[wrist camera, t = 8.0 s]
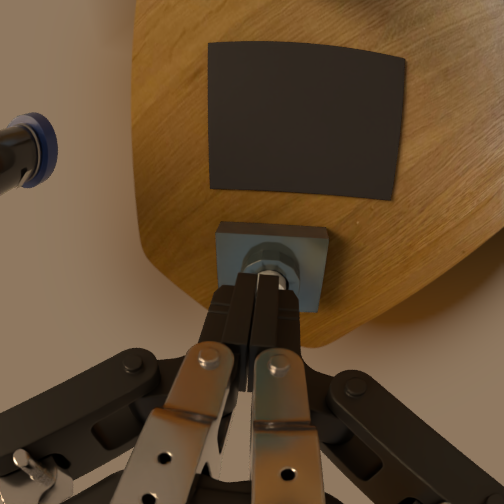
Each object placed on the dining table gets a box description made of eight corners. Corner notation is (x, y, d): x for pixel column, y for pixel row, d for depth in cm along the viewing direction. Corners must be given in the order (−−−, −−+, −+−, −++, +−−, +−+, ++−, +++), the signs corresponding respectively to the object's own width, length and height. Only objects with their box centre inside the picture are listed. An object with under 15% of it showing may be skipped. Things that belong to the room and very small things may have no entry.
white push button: (252, 296, 34) (250, 307, 32) (252, 268, 32) (250, 279, 30) (285, 298, 34) (284, 309, 32) (287, 270, 32) (287, 282, 30)
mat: (210, 187, 33) (209, 188, 33) (208, 43, 25) (207, 42, 25) (389, 199, 31) (390, 200, 31) (403, 58, 24) (404, 58, 23)
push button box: (223, 291, 40) (216, 316, 35) (220, 221, 35) (211, 241, 31) (315, 297, 39) (318, 323, 34) (326, 227, 34) (331, 248, 30)
